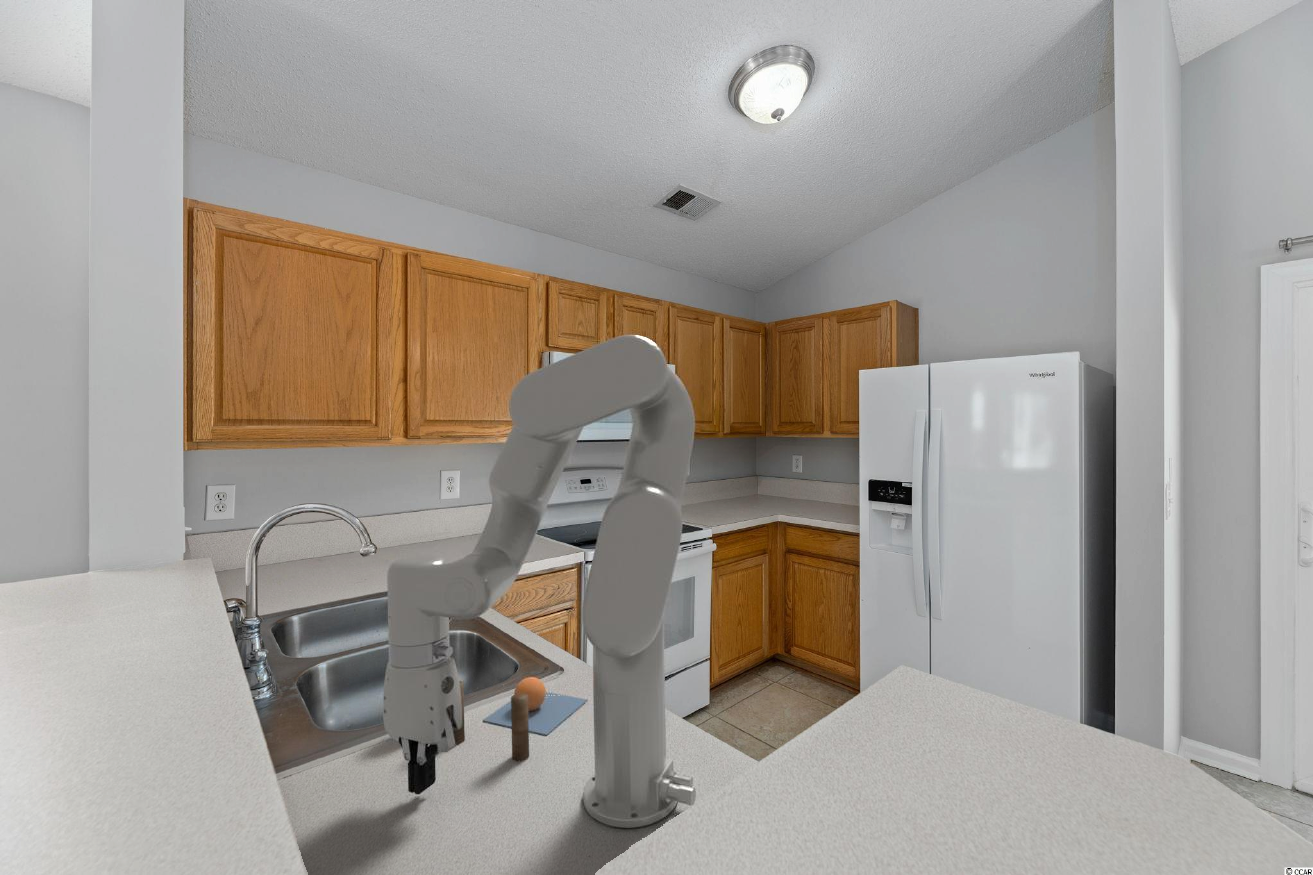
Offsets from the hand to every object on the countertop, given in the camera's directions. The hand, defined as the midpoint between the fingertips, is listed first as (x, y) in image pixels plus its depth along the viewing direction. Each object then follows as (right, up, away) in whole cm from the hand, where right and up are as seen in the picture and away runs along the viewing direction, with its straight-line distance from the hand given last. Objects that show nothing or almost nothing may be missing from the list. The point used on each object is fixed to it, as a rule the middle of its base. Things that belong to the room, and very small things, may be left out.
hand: (422, 787), depth 75 cm
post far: (-1, -2, +14) cm, 14 cm away
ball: (+9, +1, +24) cm, 26 cm away
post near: (+11, -1, +9) cm, 15 cm away
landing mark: (+10, -1, +24) cm, 26 cm away
